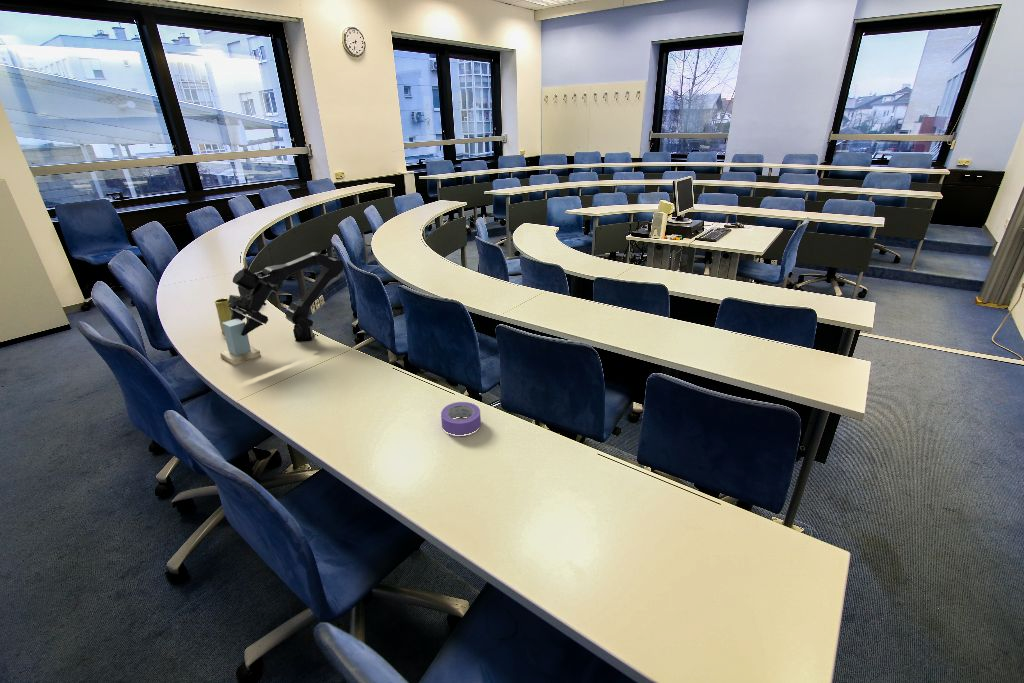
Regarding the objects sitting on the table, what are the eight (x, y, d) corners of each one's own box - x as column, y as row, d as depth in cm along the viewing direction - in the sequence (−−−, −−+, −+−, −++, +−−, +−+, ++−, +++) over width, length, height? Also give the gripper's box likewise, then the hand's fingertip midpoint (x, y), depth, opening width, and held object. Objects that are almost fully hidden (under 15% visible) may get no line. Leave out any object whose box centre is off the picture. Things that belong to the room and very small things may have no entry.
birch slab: (247, 348, 185) (246, 343, 184) (260, 355, 180) (259, 350, 179) (221, 357, 178) (219, 352, 177) (234, 365, 173) (232, 360, 172)
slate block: (243, 346, 182) (237, 318, 176) (251, 351, 179) (244, 322, 174) (228, 351, 177) (222, 322, 172) (236, 356, 175) (229, 326, 169)
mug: (262, 304, 234) (257, 282, 229) (241, 307, 229) (236, 285, 225) (257, 297, 243) (252, 276, 238) (237, 300, 238) (232, 279, 233)
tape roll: (434, 425, 142) (433, 411, 140) (463, 410, 150) (463, 397, 147) (458, 442, 134) (457, 428, 132) (488, 426, 142) (488, 412, 140)
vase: (234, 327, 207) (226, 296, 201) (240, 330, 204) (232, 300, 198) (219, 331, 203) (210, 300, 197) (225, 335, 200) (216, 303, 194)
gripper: (227, 281, 177) (204, 317, 173) (252, 291, 167) (228, 329, 164) (253, 295, 186) (231, 329, 183) (278, 305, 176) (255, 342, 173)
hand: (236, 332), depth 175 cm, fingers open, 9 cm apart
